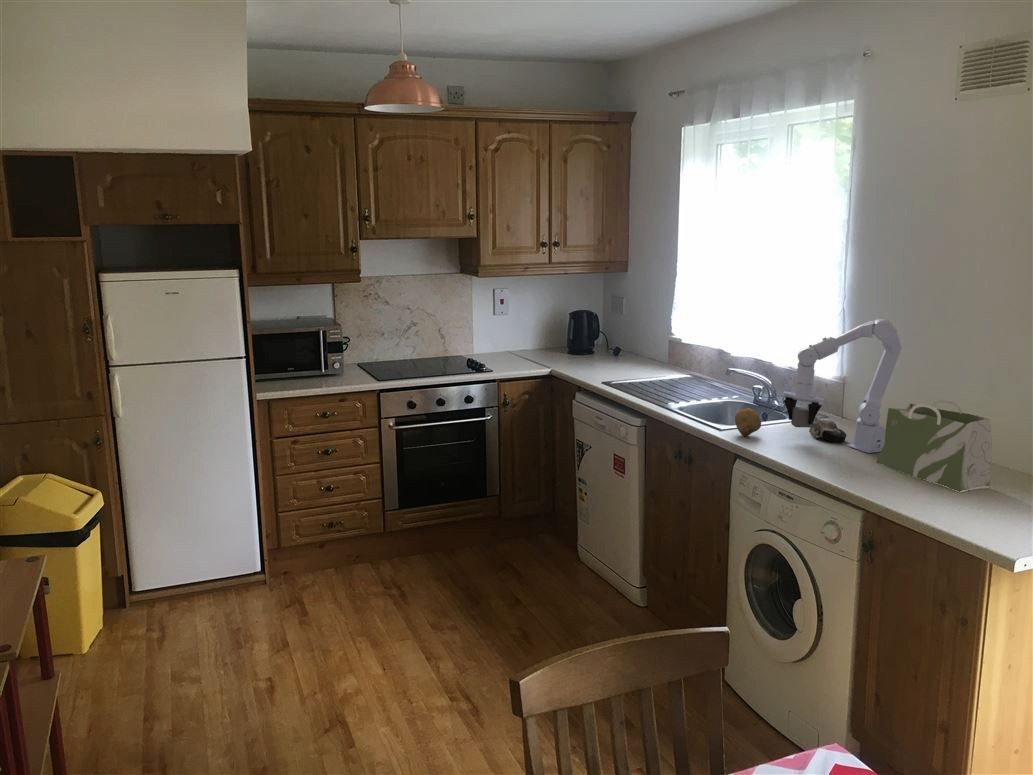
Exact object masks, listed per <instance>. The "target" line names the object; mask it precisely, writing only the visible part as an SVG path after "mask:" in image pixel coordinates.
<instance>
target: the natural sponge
mask: <svg viewBox="0 0 1033 775" xmlns="http://www.w3.org/2000/svg"><path fill="white" fill-rule="evenodd" d="M734 422H735V426H736V428H737V431H738V432H739V434H740V435H741V436H743V435H744V436H743V437H748V436H750V435H751V434H753V433H755V432H757V431H759V430H760V429H761V427H762V421H761V419H760V416H759V414H758V412H756V411H755V409H752V408H750V407H748V408H743V409H740V410H739V411H737V412H736V413H735V415H734Z"/></svg>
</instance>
